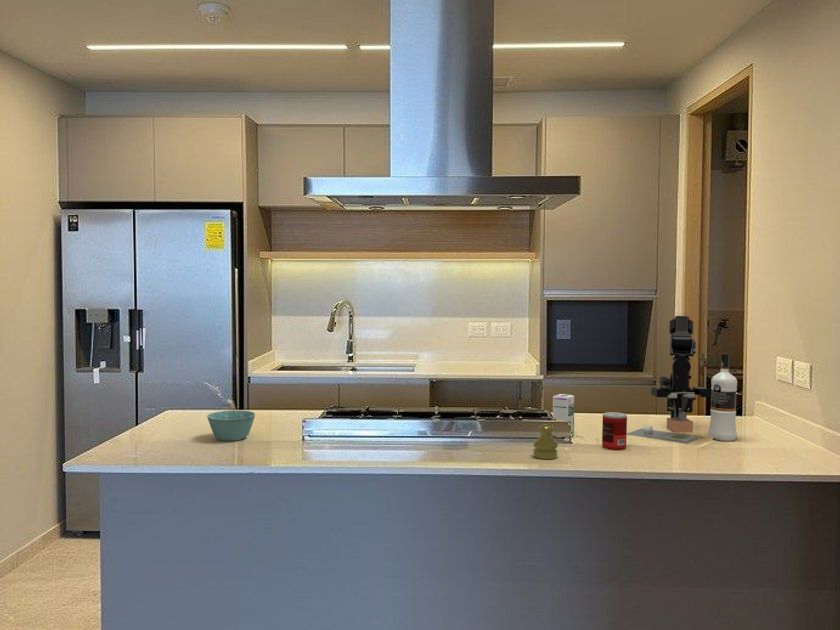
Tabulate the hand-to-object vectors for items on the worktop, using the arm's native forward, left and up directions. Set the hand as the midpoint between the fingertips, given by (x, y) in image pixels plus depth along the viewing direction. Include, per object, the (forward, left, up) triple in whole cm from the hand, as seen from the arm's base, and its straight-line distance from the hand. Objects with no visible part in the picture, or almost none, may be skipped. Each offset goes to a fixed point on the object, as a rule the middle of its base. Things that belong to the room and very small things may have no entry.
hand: (679, 417), depth 255 cm
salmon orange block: (0, 0, -5) cm, 5 cm away
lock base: (0, -5, -8) cm, 10 cm away
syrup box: (+21, -33, -8) cm, 40 cm away
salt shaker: (+52, -22, -9) cm, 57 cm away
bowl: (+102, -113, -9) cm, 153 cm away
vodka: (-14, +10, -8) cm, 19 cm away
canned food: (+25, -12, -8) cm, 29 cm away
